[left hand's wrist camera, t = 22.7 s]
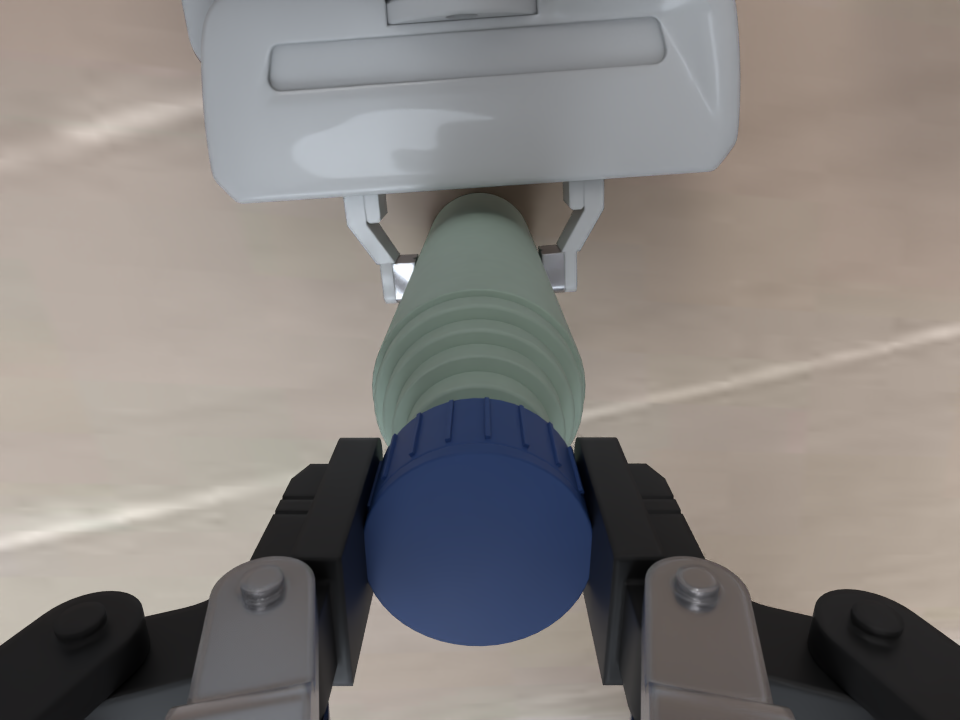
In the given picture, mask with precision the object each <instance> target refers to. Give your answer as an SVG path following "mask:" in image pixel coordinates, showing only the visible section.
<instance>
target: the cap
mask: <svg viewBox="0 0 960 720" xmlns="http://www.w3.org/2000/svg"><path fill="white" fill-rule="evenodd" d="M583 493H584V489H583V485H582V482H581V478H580V474H579V471H578V467H577V463H576V460H575V456H574V452H573V449H572V447H571V446H569V447H568V446H567V444H566V443H565V441H564V440H563V438H562V437H561V436H560V434H559V433H558V432H557V431H556V430H555V429H554V428H553V424H552V423H551V422H546V421H545V420H544V419H542V418H541V417H540V416H538V415H537V414H535V413H533V412H531V411H530V410H528V409H526V408H524V406H523V405H519V406H518V405H516V404H513V403H509V402H506V401H502V400H496V399H489V397H485V398H469V399H460V400H455V401H454V400H449V402H446V403H444V404H441V405H438V406H435V407H433V408H431V409H429V410H427V411H425V412H423V413H421V412H420V413H418V414H417V415H416V417H415V418H414V419H412V420H411V421H410V422H409V423H408V424H407V425H405V426H404V427H403V428H402V429H401V430H400V432H399V433H398V434H394V435H393V436H392V439H391V443H390V445H389V447H388V448H387V451H386V453H385V455H384V457H383V460H382V461H380V463H379V466H378V470H377V473H376V477H375V480H374V484H373V488H372V491H371V495H370V498H369V502H368V505H367V506H368V514H367V518H366V521H365V525H364V541H365V554H366V567H367V579H368V583H369V585H370V587H371V588H372V590H373V592H374V594H375V595H376V597H377V598H378V599H379V601H380V602H381V603H382V605H383V606H384V607H385V608H386V609H387V610H388V611H389V612H390V613H391V614H392V615H393V616H394V617H396V618H397V619H398V620H399V621H401V622H402V623H403V624H405V625H406V626H408V627H410V628H411V629H413V630H415V631H417V632H419V633H421V634H423V635H425V636H427V637H430V638H433V639H436V640H439V641H443V642H447V643H452V644H458V645H466V646H489V645H499V644H504V643H509V642H513V641H517V640H520V639H523V638H526V637H528V636H531V635H533V634H535V633H538V632H540V631H541V630H543V629H545V628H547V627H548V626H550V625H551V624H553V623H554V622H555V621H557V620H558V619H560V618H561V617H562V616H563V615H564V614H565V613H566V612H567V611H568V610H569V609H570V608H571V607H572V606H573V605H574V603H575V602H576V601H577V600H578V599H579V597H580V595H581V594H582V592H583V590H584V589H585V587H586V585H587V582H588V580H589V572H590V558H591V544H592V524H591V521H590V517H589V513H588V509H587V506H586V502H585V498H584V495H583Z"/></svg>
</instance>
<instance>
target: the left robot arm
mask: <svg viewBox="0 0 960 720" xmlns="http://www.w3.org/2000/svg"><path fill="white" fill-rule="evenodd" d="M574 456H575V460H576V463H577V467H578V471H579V474H580V478H581V482H582V485H583V489H584V493H583V495H584V498H585V502H586V506H587V509H588V513H589V517H590V521H591V524H592V544H591V558H590V572H589V580H588V582H587V585H586V587H585V589H584V590H583V593H584V598H585V603H586V608H587V612H588V617H589V622H590V626H591V631H592V636H593V641H594V645H595V650H596V655H597V659H598V664H599V669H600V673H601V678H602V683H603V685H623V687H624V691H625V695H626V699H627V703H628V707H629V709H630V720H960V646H959V645H958V644H957V643H955V642H954V641H952V640H951V639H950V638H948V637H947V636H946V635H944V634H943V633H941V632H940V631H939V630H937V629H936V628H934V627H933V626H932V625H930V624H929V623H928V622H926V621H925V620H923V619H922V618H921V617H919V616H918V615H916V614H915V613H914V612H912V611H911V610H909V609H908V608H906V607H904V606H903V605H901V604H899V603H897V602H895V601H893V600H890V599H888V598H886V597H883V596H880V595H877V594H874V593H870V592H866V591H860V590H852V589H841V590H834V591H830V592H828V593H825V594H824V595H822V596H821V597H820V598H819V599H818V600H817V602H816V605H815V608H814V613H813V617H812V616H808V615H803V614H799V613H794V612H790V611H785V610H781V609H777V608H772V607H768V606H765V605H761V604H758V603H755V602H753V601H751V598H750V594H749V591H748V589H747V587H746V586H745V584H744V583H743V582H742V581H741V580H740V578H739V577H737V576H736V575H735V574H734V573H733V572H731V571H730V570H728V569H727V568H725V567H723V566H721V565H719V564H717V563H714V562H712V561H709V560H705V558H704V556H703V554H702V552H701V550H700V548H699V546H698V544H697V542H696V540H695V538H694V536H693V534H692V532H691V530H690V528H689V526H688V524H687V522H686V520H685V518H684V516H683V514H681V510H680V508H679V506H678V504H677V502H676V500H675V499H674V497H673V494H672V492H671V490H670V488H669V486H668V484H667V482H666V480H665V478H664V477H662V476H661V475H660V474H659V473H657V472H656V471H655V470H654V469H652V468H651V467H650V466H648V465H647V464H628V463H627V460H626V458H625V456H624V453H623V451H622V448H621V446H620V444H619V441H618V439H617V438H615V437H577V439H576V442H575V450H574ZM382 460H383V454H382V444H381V440H380V438H340V439H339V441H338V443H337V445H336V447H335V450H334V452H333V454H332V457H331V459H330V461H329V464H310V465H309V466H307V467H306V468H305V469H303V470H302V471H301V472H300V473H298V474H297V475H296V476H295V477H293V478H292V479H291V481H290V483H289V485H288V487H287V489H286V491H285V493H284V495H283V499H282V500H280V502H279V504H278V506H277V508H276V510H275V514H273V516H272V518H271V520H270V522H269V524H268V526H267V528H266V530H265V532H264V534H263V536H262V538H261V540H260V542H259V544H258V546H257V548H256V550H255V551H254V553H253V555H252V557H251V559H250V561H248V562H246V563H243V564H241V565H239V566H237V567H235V568H233V569H232V570H230V571H229V572H227V573H226V574H225V575H224V576H223V577H221V578H220V580H219V581H218V582H217V583H216V584H215V586H214V587H213V589H212V591H211V594H210V598H209V600H206V601H204V602H202V603H199V604H196V605H193V606H189V607H186V608H182V609H177V610H173V611H168V612H164V613H159V614H155V615H151V616H146V617H145V616H144V612H143V608H142V604H141V603H140V601H139V600H138V599H137V598H136V597H134V596H133V595H130V594H128V593H124V592H119V591H102V592H96V593H91V594H87V595H83V596H80V597H77V598H74V599H71V600H69V601H67V602H64V603H62V604H60V605H58V606H57V607H55V608H53V609H51V610H50V611H48V612H47V613H45V614H44V615H42V616H41V617H39V618H38V619H37V620H35V621H34V622H32V623H31V624H30V625H28V626H27V627H26V628H24V629H23V630H21V631H20V632H19V633H17V634H16V635H14V636H13V637H12V638H10V639H9V640H7V641H6V642H5V643H3V644H2V645H1V646H0V720H330V712H329V703H328V701H329V697H330V693H331V689H332V686H353V682H354V678H355V673H356V669H357V664H358V660H359V655H360V651H361V646H362V641H363V637H364V632H365V628H366V623H367V619H368V614H369V610H370V605H371V600H372V596H373V590H372V588H371V587H370V585H369V583H368V579H367V567H366V554H365V541H364V525H365V521H366V518H367V514H368V506H367V505H368V502H369V498H370V495H371V491H372V488H373V484H374V480H375V477H376V473H377V470H378V466H379V463H380V461H382Z"/></svg>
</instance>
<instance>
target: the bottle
mask: <svg viewBox="0 0 960 720" xmlns="http://www.w3.org/2000/svg"><path fill="white" fill-rule="evenodd" d="M372 389H373V400H374V406H375V414H376V419H377V423H378V426H379V429H380V432H381V434H382V436H383V438H384V440H385V442H386V444H387V446H388V447H389V445H390V443H391V439H392V436H393V435H394V434H398V433H399V432H400V430H401V429H402V428H403V427H404V426H405V425H407V424H408V423H409V422H410V421H411V420H412V419H414V418H415V417H416V415H417V414H418V413H420V412H421V413H423V412H425V411H427V410H429V409H431V408H433V407H435V406H438V405H441V404H444V403H446V402H449V400H454V401H455V400H460V399H469V398H485V397H489V399H496V400H502V401H506V402H509V403H513V404H516V405H518V406H519V405H523V406H524V408H526V409H528V410H530V411H531V412H533V413H535V414H537V415H538V416H540V417H541V418H542V419H544V420H545V421H546V422H551V423H552V424H553V428H554V429H555V430H556V431H557V432H558V433H559V434H560V436H561V437H562V438H563V440H564V441H565V443H566V444H567V446H568V447H569V446H570V445H571V443H572V441H573V439H574V437H575V435H576V433H577V430H578V427H579V425H580V421H581V417H582V412H583V403H584V398H585V375H584V369H583V364H582V360H581V357H580V355H579V352H578V349H577V347H576V344H575V342H574V339H573V337H572V335H571V332H570V330H569V327H568V325H567V322H566V320H565V317H564V315H563V312H562V310H561V308H560V305H559V303H558V300H557V298H556V295H555V293H554V290H553V288H552V285H551V283H550V281H549V278H548V276H547V273H546V271H545V268H544V266H543V263H542V261H541V258H540V256H539V254H538V251H537V249H536V246H535V244H534V241H533V239H532V236H531V234H530V231H529V229H528V227H527V224H526V222H525V220H524V218H523V216H522V215H521V214H520V212H519V211H518V210H517V209H516V208H515V207H514V206H513V205H512V204H511V203H509V202H508V201H506V200H505V199H503V198H501V197H498V196H496V195H492V194H487V193H472V194H467V195H463V196H461V197H458V198H456V199H455V200H453V201H451V202H450V203H448V204H447V205H446V206H445V207H444V208H443V209H442V210H441V211H440V212H439V214H438V215H437V217H436V218H435V220H434V222H433V224H432V227H431V229H430V231H429V234H428V236H427V239H426V241H425V243H424V246H423V248H422V251H421V253H420V255H419V258H418V260H417V262H416V265H415V267H414V270H413V272H412V274H411V277H410V279H409V281H408V284H407V286H406V289H405V291H404V293H403V296H402V298H401V301H400V303H399V305H398V308H397V310H396V312H395V315H394V317H393V320H392V322H391V324H390V327H389V329H388V332H387V334H386V336H385V339H384V341H383V343H382V346H381V348H380V351H379V354H378V356H377V359H376V363H375V367H374V371H373V382H372Z"/></svg>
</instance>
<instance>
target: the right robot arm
mask: <svg viewBox="0 0 960 720" xmlns="http://www.w3.org/2000/svg"><path fill="white" fill-rule="evenodd" d="M182 5H183V10H184V15H185V20H186V25H187V30H188V35H189V39H190V43H191V45H192V48H193V50H194V53H195V55H196V56H197V58H198V59H199V61H200V62H201V75H202V96H203V110H204V121H205V130H206V138H207V146H208V153H209V159H210V165H211V171H212V174H213V177H214V179H215V181H216V182H217V184H218V185H219V186H220V187H221V188H222V189H223V190H224V191H225V192H226V193H227V194H228V195H229V196H230V197H232V198H233V199H234V200H235V201H236V202H238V203H243V204H244V203H260V202H275V201H289V200H304V199H319V198H333V197H343V198H344V205H345V213H346V220H347V226H348V227H349V228H350V230H351V231H352V232H353V234H354V235H355V236H356V238H357V239H358V240H359V242H360V243H361V244H362V246H363V247H364V248H365V250H366V251H367V252H368V254H369V255H370V256H371V258H372V259H373V260H374V262H375V263H376V264H380V270H381V278H382V286H383V294H384V300H385V303H400V301H401V298H402V296H403V293H404V291H405V289H406V286H407V284H408V281H409V279H410V277H411V274H412V272H413V270H414V267H415V265H416V262H417V260H418V258H419V256H418V254H409V255H400V253H399V252H398V250H397V249H396V248H395V246H394V245H393V243H392V242H391V240H390V239H389V237H388V236H387V234H386V233H385V232H384V230H383V229H382V227H381V226H380V224H379V222H380V221H381V219H382V218H383V217H384V216H385V215H386V214H387V213H388V212H387V202H386V194H392V193H406V192H421V191H436V190H450V189H465V188H479V187H494V186H509V185H523V184H538V183H552V182H563V201H564V202H565V203H566V204H567V205H568V206H569V207H570V208H571V209H572V210H573V212H572V214H571V216H570V218H569V220H568V222H567V224H566V226H565V228H564V230H563V232H562V234H561V236H560V237H559V239H558V241H557V245H546V246H538V254H539V256H540V258H541V261H542V263H543V266H544V268H545V271H546V273H547V276H548V278H549V281H550V283H551V285H552V288H553V290H554V293H559V292H575V291H576V290H577V251H580V250H581V248H582V246H583V245H584V243H585V241H586V239H587V238H588V236H589V234H590V232H591V231H592V229H593V227H594V225H595V224H596V222H597V220H598V218H599V216H600V215H601V213H602V211H603V209H604V179H611V178H626V177H640V176H655V175H669V174H684V173H698V172H710V171H713V170H715V169H716V168H717V167H718V166H719V165H720V164H721V163H722V161H723V160H724V159H725V158H726V156H727V155H728V153H729V152H730V151H731V149H732V148H733V147H734V145H735V143H736V140H737V136H738V127H739V114H740V46H739V32H738V18H737V9H736V2H735V0H182Z"/></svg>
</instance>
